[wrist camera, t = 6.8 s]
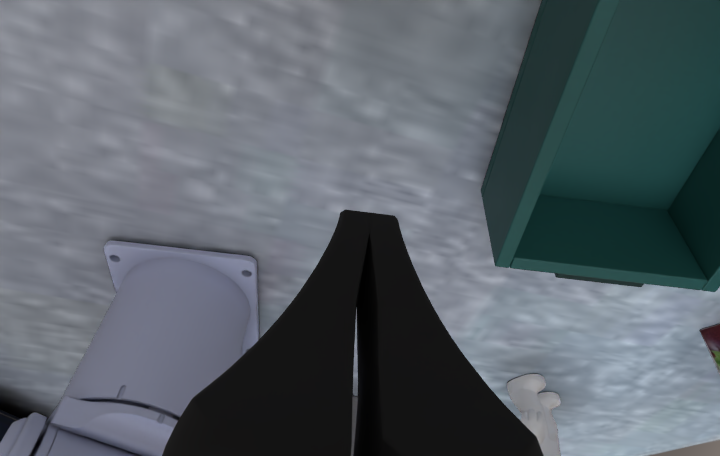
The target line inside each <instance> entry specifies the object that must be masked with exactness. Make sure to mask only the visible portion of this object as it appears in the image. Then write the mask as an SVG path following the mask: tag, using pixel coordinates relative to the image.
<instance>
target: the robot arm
mask: <svg viewBox="0 0 720 456" xmlns="http://www.w3.org/2000/svg"><path fill="white" fill-rule="evenodd" d="M104 253H105V256H106V260H107V263H108V267H109V270H110V274H111V277H112V281H113V284H114V288H115V291H116V295H115V297H114V299H113V301H112V303H111V305H110V307H109V309H108V310H107V312H106V314H105V316H104V318H103V320H102V322H101V324H100V326H99V328H98V329H97V331H96V333H95V335H94V337H93V339H92V341H91V343H90V345H89V347H88V349H87V350H86V352H85V354H84V356H83V358H82V360H81V362H80V364H79V366H78V368H77V369H76V371H75V373H74V375H73V377H72V379H71V381H70V383H69V385H68V387H67V389H66V390H65V392H64V394H63V396H62V398H61V400H60V402H59V404H58V405H57V407H56V408H55V410H54V411H53V412H52V414H51V415H50V417H49V418H48V420H47V421H46V419H47V417H45V416H43V415H41V414H39V413H35V412H34V413H31V414H30V415H29V416H28V418H23V419H20V420H18V421H15V422H13V423H12V424H11V426H10V427H9V429H8V431H7V432H6V434H5V436H4V437H3V439H2V441H1V442H0V456H351V447H352V398H353V365H354V341H355V320H356V308H357V350H358V403H357V416H356V428H355V441H354V453H353V456H544V455H543V453H542V450H541V447H540V445H539V442H538V439H537V437H536V436H535V435H534V434H533V433H532V432H531V431H530V430H529V429H528V428H527V427H526V426H525V425H524V424H523V423H522V422H521V421H520V420H519V419H518V418H517V417H516V416H515V415H514V414H513V413H512V412H511V411H510V410H509V409H508V408H507V407H506V406H505V405H504V404H503V403H502V401H501V400H500V399H499V398H498V397H497V396H496V395H495V394H494V392H493V391H492V390H491V389H490V388H489V387H488V386H487V384H486V383H485V382H484V380H483V379H482V378H481V377H480V375H479V374H478V373H477V372H476V370H475V369H474V368H473V367H472V365H471V364H470V363H469V361H468V360H467V359H466V358H465V356H464V355H463V354H462V352H461V351H460V349H459V348H458V346H457V345H456V343H455V342H454V341H453V339H452V338H451V336H450V335H449V333H448V331H447V330H446V328H445V327H444V325H443V323H442V322H441V320H440V318H439V317H438V315H437V313H436V312H435V310H434V308H433V306H432V304H431V302H430V300H429V299H428V297H427V295H426V293H425V291H424V289H423V287H422V285H421V283H420V280H419V278H418V276H417V274H416V271H415V269H414V267H413V265H412V262H411V260H410V257H409V255H408V252H407V249H406V246H405V244H404V241H403V238H402V234H401V231H400V227H399V223H398V220H397V218H396V217H395V216H392V215H384V214H376V213H368V212H360V211H352V210H344V211H342V212H341V213H340V217H339V221H338V224H337V227H336V229H335V232H334V234H333V236H332V238H331V240H330V243H329V245H328V247H327V248H326V250H325V252H324V254H323V256H322V257H321V259H320V261H319V263H318V265H317V266H316V268H315V269H314V271H313V272H312V274H311V275H310V277H309V278H308V280H307V281H306V283H305V284H304V286H303V287H302V289H301V290H300V292H299V293H298V294H297V296H296V297H295V299H294V300H293V301H292V302H291V304H290V305H289V306H288V308H287V309H286V310H285V311H284V312H283V314H282V315H281V316H280V317H279V318H278V320H277V321H276V322H275V323H274V324H273V325H272V326H271V327H270V329H269V330H268V331H267V332H266V333H265V334H264V335H263V336H262V337H261V338H260V339H259V314H258V277H257V261H256V260H255V259H254V258H253V257H251V256H245V255H237V254H228V253H219V252H210V251H202V250H193V249H184V248H175V247H167V246H158V245H149V244H140V243H132V242H123V241H114V240H112V241H108V242H107V243H106V245H105V246H104ZM117 256H118V257H117ZM245 270H248V271H250V272H248V271H245Z"/></svg>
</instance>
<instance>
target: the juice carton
mask: <svg viewBox="0 0 720 456" xmlns="http://www.w3.org/2000/svg"><path fill="white" fill-rule="evenodd" d="M700 332H701V335H702V337H703V339H704V341H705V343H706V346H707V348H708V350H709V352H710V354H711V357H712V359H713V361H714V363H715V365H716V368H717V370H718V372H719V374H720V324H717V325H714V326H711V327H707V328H704V329H701V330H700Z"/></svg>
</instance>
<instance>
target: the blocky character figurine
mask: <svg viewBox="0 0 720 456" xmlns="http://www.w3.org/2000/svg"><path fill="white" fill-rule="evenodd" d="M545 387H546V381H545V378H544V377H543V376H541V375H539V374H527V375H523V376H520V377H518V378H515V379H513V380H511V381H509V382H508V383H507V389H508V393H509V396H510V398H511V400H512V402H513V403H514V404H515V406H516V407H517V408H518V410H519V411H520V412H521V414H522V416H521V422H522V423H523V424H524V425H525V426H526V427H527V428H528V429H529V430H530V431H531V432H532V433H533V434H534V435H535V436H536V437H537V439H538V442H539V445H540V447H541V450H542V453H543V455H544V456H561V453H560V448H559V439H558V429H557V424H556V422H555V420H554V418H553V415H552V412H551V411H552V409H553V408H555V407H557V406H560V404H561V400H560V397H559V395H558V394H557V393H554V392H543V393H539V394H538V392H540V391H541V390H543V389H544V388H545Z"/></svg>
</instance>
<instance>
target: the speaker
mask: <svg viewBox="0 0 720 456" xmlns="http://www.w3.org/2000/svg"><path fill="white" fill-rule="evenodd" d="M18 420H20V418H18V417H16V416H13V415H11V414H9V413H7V412H4V411H2V410H0V442H1V441H2V439H3V437H4V436H5V434H6V432H7V431H8V429H9V427H10V426H11V424H12V423H13V422H15V421H18Z"/></svg>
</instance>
